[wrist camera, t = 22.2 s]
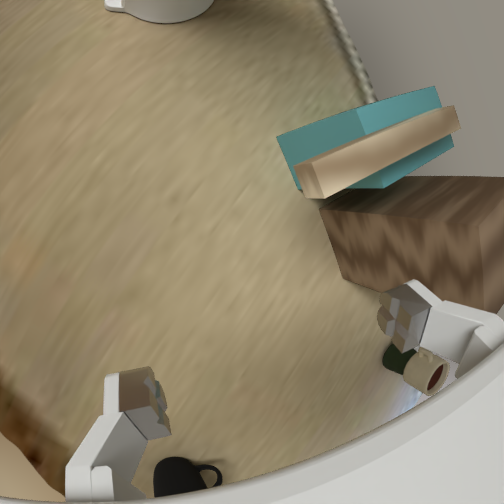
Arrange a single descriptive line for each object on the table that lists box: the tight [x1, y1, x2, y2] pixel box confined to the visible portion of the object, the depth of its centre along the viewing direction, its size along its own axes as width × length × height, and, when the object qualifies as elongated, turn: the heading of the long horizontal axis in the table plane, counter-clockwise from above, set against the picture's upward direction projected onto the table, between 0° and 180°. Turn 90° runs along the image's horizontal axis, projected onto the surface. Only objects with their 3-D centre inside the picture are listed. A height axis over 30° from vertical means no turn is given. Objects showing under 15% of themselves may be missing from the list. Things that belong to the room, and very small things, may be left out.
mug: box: [153, 457, 222, 498], centre depth 40 cm, size 12×9×10 cm
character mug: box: [383, 344, 450, 396], centre depth 51 cm, size 11×7×13 cm, turn 18°
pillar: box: [319, 176, 504, 314], centre depth 37 cm, size 12×13×26 cm
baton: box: [293, 106, 461, 199], centre depth 26 cm, size 3×22×3 cm, turn 114°
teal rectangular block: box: [276, 86, 454, 190], centre depth 37 cm, size 8×15×17 cm, turn 115°
